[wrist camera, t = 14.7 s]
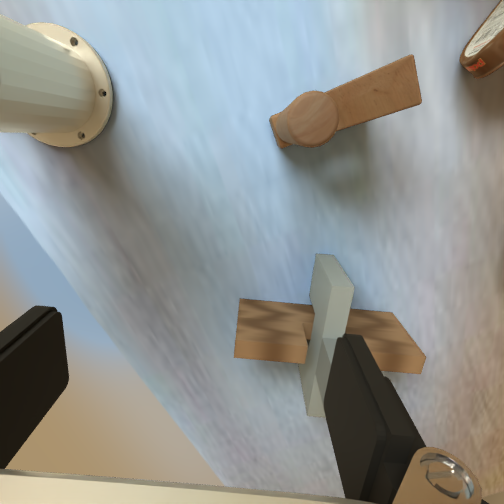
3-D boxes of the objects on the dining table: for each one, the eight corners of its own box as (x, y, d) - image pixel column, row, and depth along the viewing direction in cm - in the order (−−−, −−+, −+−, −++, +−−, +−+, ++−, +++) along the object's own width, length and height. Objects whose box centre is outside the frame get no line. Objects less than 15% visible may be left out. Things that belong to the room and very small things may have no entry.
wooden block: (365, 114, 38) (452, 97, 21) (278, 148, 40) (294, 157, 23) (357, 81, 37) (442, 36, 20) (268, 117, 38) (276, 103, 21)
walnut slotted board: (238, 313, 47) (233, 357, 38) (239, 298, 46) (235, 340, 37) (388, 326, 48) (420, 374, 38) (392, 312, 47) (426, 357, 37)
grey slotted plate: (316, 253, 44) (346, 315, 29) (333, 255, 44) (373, 317, 29) (297, 363, 50) (315, 461, 35) (313, 364, 50) (337, 463, 35)
